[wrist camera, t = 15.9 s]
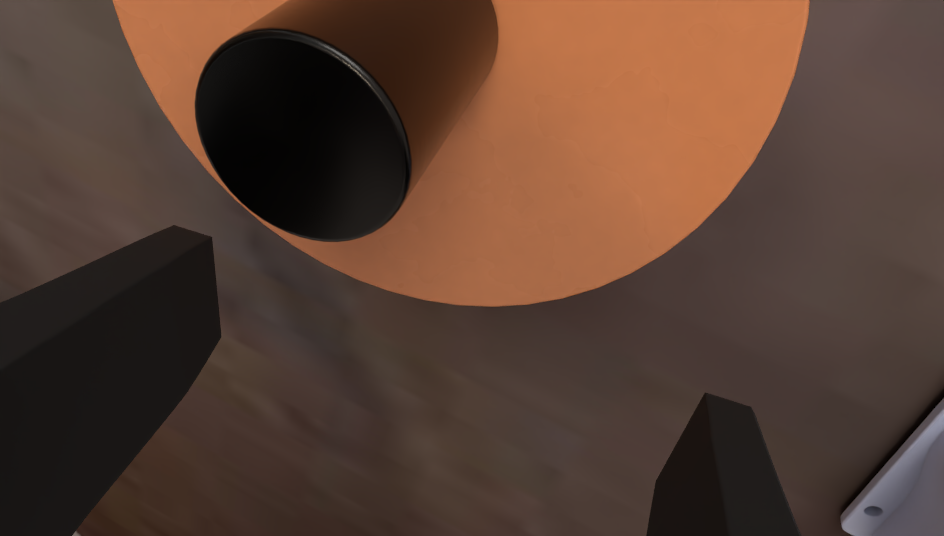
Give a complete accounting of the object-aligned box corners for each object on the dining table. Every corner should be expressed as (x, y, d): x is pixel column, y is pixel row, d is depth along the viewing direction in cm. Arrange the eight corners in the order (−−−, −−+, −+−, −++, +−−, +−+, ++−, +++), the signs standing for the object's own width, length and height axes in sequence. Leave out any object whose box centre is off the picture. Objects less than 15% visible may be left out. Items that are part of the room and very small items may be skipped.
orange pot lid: (661, 338, 15) (637, 561, 11) (174, 190, 16) (-3, 343, 12) (986, -377, 8) (1250, -471, 4) (76, -537, 9) (-418, -727, 5)
